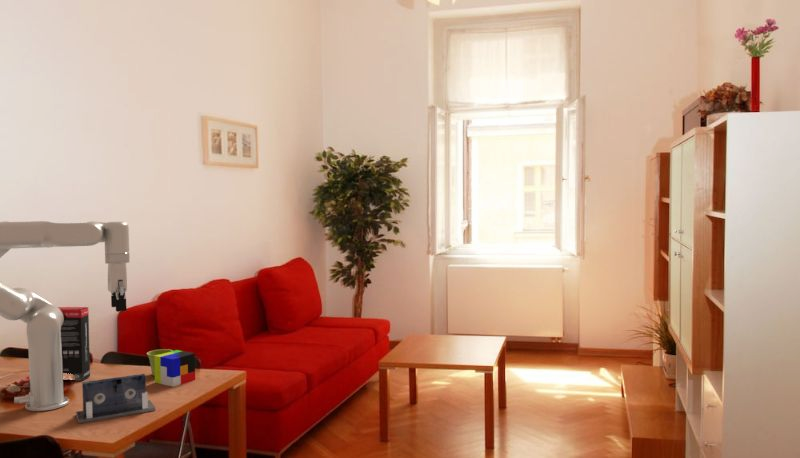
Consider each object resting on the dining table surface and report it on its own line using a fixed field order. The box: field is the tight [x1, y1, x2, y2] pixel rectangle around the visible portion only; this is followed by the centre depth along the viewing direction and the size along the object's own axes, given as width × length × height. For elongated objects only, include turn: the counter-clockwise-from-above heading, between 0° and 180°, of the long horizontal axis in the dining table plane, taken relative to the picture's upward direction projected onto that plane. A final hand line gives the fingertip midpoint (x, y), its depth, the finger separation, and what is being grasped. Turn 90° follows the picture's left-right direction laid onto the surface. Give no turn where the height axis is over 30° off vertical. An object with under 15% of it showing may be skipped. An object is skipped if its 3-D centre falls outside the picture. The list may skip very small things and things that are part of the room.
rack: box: [75, 391, 156, 424], centre depth 207 cm, size 22×9×6 cm, turn 122°
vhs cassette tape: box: [81, 373, 147, 416], centre depth 207 cm, size 18×3×10 cm, turn 120°
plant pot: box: [146, 348, 173, 377], centre depth 251 cm, size 9×9×9 cm
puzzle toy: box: [154, 349, 196, 388], centre depth 241 cm, size 10×10×10 cm
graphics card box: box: [56, 306, 91, 382], centre depth 244 cm, size 17×7×27 cm, turn 92°
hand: (118, 308), depth 221 cm, fingers open, 9 cm apart
